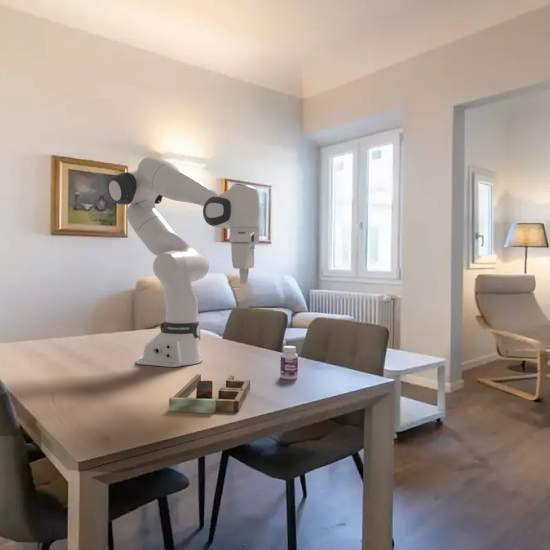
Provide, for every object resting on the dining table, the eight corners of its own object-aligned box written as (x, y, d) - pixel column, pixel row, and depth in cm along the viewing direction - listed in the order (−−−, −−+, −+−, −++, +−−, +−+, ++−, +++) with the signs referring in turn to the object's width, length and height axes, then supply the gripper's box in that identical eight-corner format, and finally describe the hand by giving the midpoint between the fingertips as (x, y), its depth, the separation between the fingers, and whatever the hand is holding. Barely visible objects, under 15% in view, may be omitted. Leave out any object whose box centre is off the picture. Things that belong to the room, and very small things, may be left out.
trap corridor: (168, 411, 111) (169, 398, 110) (196, 382, 136) (196, 372, 136) (237, 414, 109) (237, 401, 109) (252, 384, 135) (252, 374, 135)
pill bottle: (285, 380, 141) (285, 348, 140) (277, 376, 145) (277, 345, 145) (300, 378, 143) (301, 347, 143) (292, 374, 148) (292, 344, 147)
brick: (197, 397, 122) (197, 380, 122) (212, 397, 123) (212, 379, 123) (195, 411, 112) (195, 391, 112) (212, 410, 112) (212, 391, 112)
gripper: (239, 239, 152) (239, 281, 152) (228, 235, 131) (227, 284, 132) (259, 239, 151) (258, 282, 152) (250, 236, 131) (249, 285, 131)
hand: (243, 283), depth 141 cm, fingers closed
